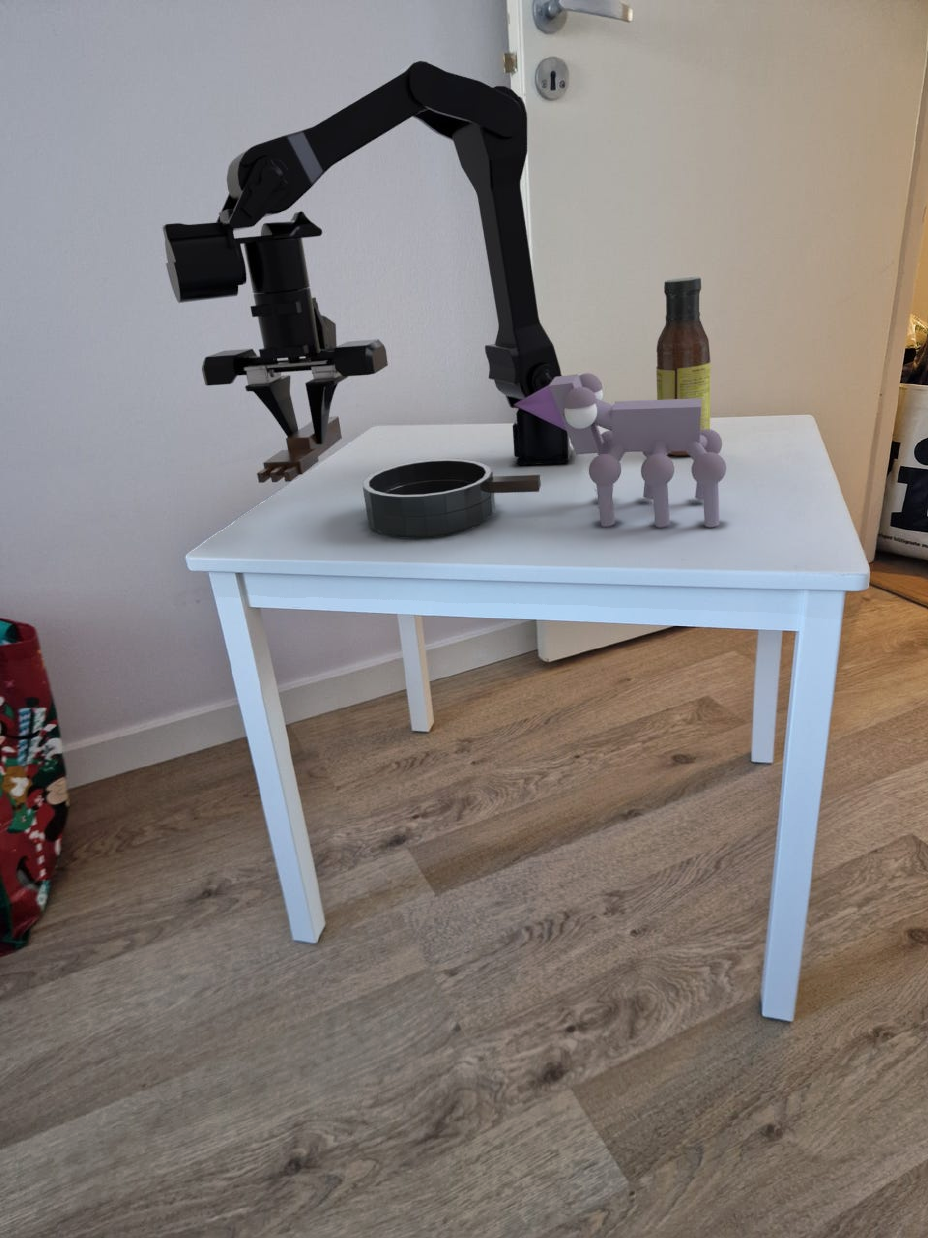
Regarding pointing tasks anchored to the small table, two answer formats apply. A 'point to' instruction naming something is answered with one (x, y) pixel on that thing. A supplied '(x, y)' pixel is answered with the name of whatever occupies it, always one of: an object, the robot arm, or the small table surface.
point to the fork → (299, 453)
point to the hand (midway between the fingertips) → (309, 443)
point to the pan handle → (515, 484)
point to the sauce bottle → (684, 349)
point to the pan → (429, 498)
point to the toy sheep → (633, 441)
